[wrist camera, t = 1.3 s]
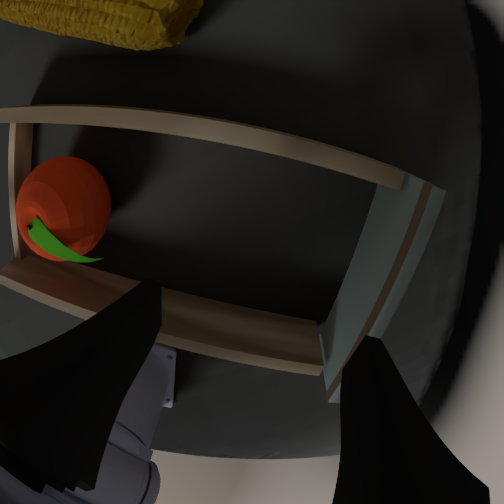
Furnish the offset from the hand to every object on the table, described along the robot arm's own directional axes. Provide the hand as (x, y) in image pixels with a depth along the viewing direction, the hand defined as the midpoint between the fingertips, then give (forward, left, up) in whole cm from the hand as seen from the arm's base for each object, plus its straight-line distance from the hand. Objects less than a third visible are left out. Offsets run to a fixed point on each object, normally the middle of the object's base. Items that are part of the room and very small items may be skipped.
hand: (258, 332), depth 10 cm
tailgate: (-1, -6, -10) cm, 12 cm away
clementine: (-1, +13, -11) cm, 17 cm away
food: (+14, +17, -11) cm, 25 cm away
